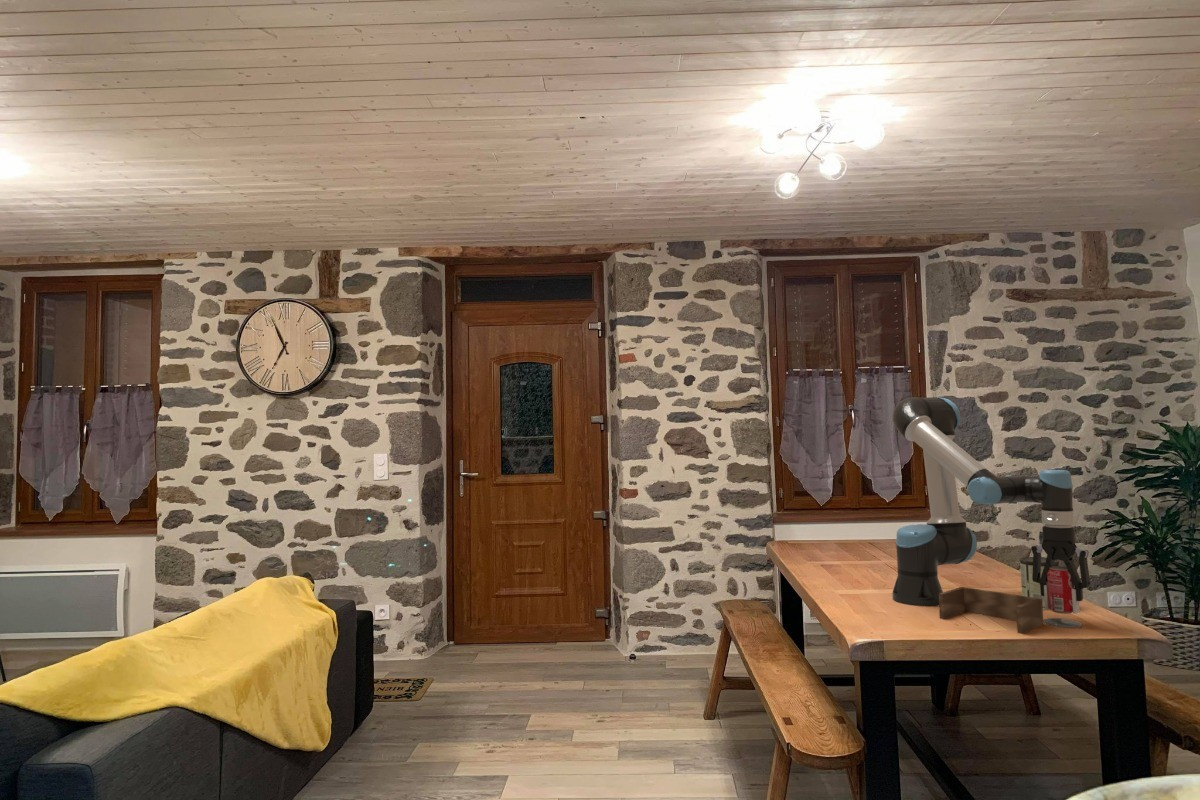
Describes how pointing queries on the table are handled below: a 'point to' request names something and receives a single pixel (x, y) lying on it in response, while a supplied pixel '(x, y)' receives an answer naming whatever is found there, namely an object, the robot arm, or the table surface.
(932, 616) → the table surface
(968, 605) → the walnut u-shaped barrier
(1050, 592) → the beverage can
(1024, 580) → the coffee can
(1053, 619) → the slate coaster
